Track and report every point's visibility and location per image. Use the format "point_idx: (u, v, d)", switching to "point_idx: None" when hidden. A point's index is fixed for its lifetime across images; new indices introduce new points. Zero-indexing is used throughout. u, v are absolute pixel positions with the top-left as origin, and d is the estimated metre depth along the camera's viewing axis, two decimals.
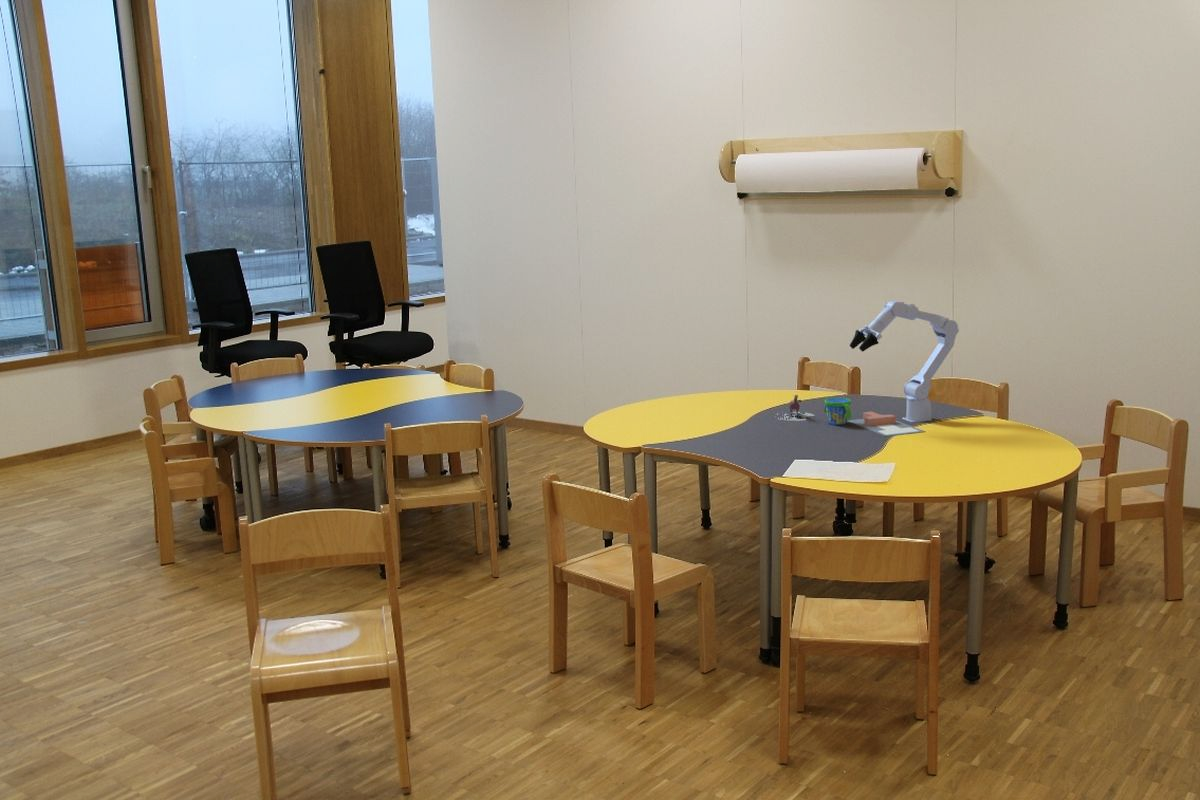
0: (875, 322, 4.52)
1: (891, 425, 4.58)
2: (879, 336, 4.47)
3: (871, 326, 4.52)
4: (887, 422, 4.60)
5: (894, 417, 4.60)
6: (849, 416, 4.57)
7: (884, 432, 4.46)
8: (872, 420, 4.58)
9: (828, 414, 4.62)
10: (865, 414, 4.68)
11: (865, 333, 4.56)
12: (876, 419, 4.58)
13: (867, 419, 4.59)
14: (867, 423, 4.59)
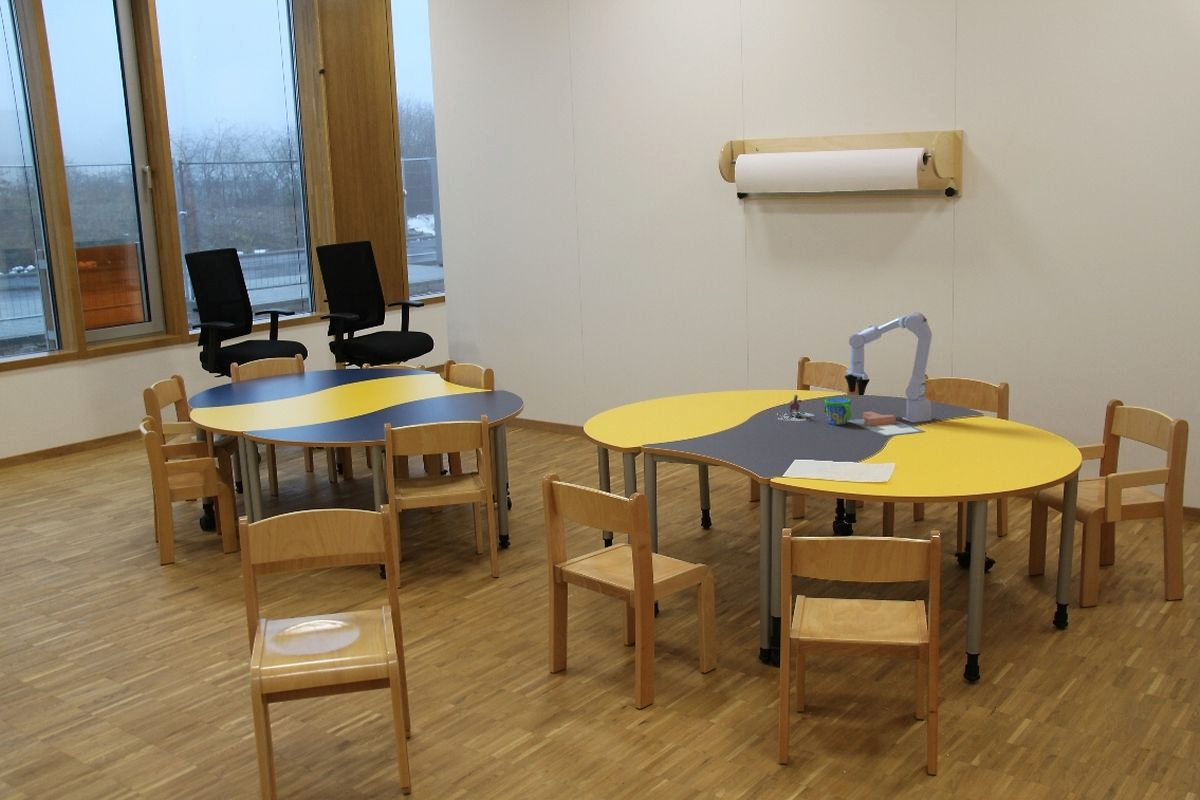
0: (853, 365, 4.73)
1: (891, 425, 4.58)
2: (865, 377, 4.69)
3: (853, 370, 4.73)
4: (887, 422, 4.60)
5: (894, 417, 4.60)
6: (849, 416, 4.57)
7: (884, 432, 4.46)
8: (872, 420, 4.58)
9: (828, 414, 4.62)
10: (865, 414, 4.68)
11: (853, 374, 4.78)
12: (876, 419, 4.58)
13: (867, 419, 4.59)
14: (867, 423, 4.59)
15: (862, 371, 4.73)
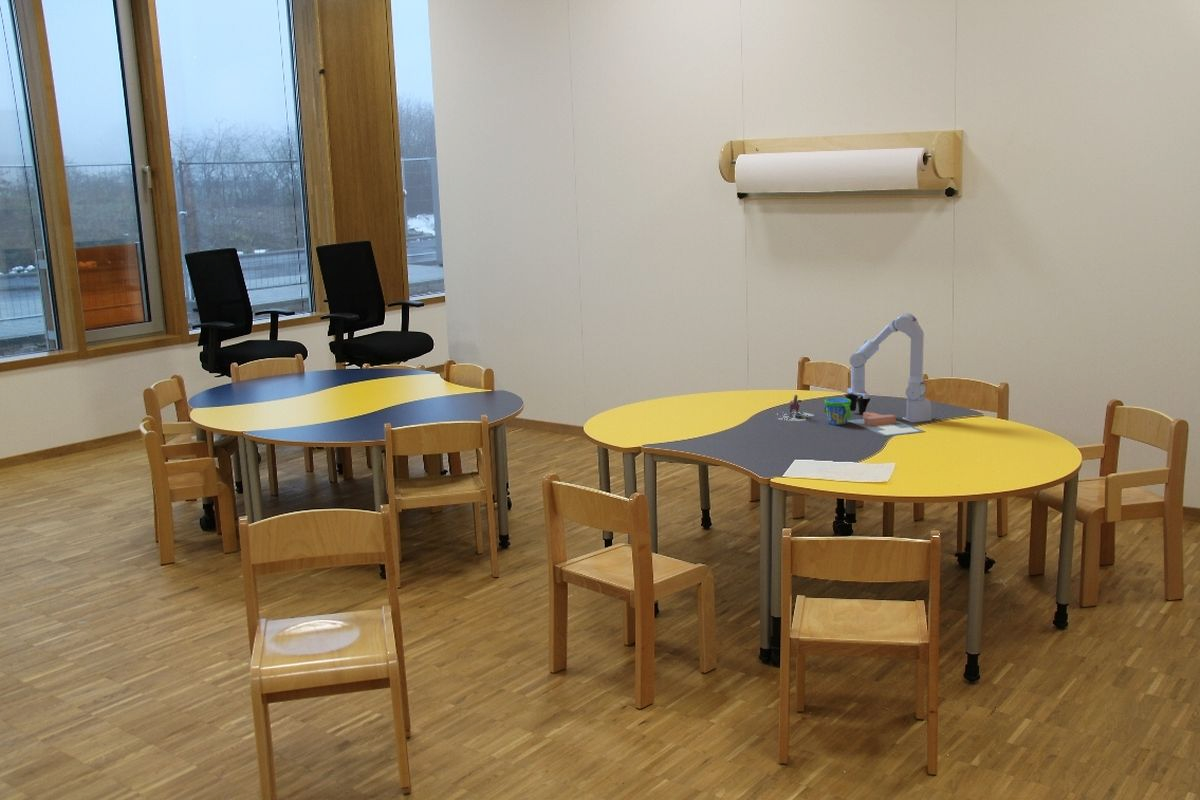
0: (854, 384, 4.74)
1: (891, 425, 4.58)
2: (866, 396, 4.70)
3: (853, 389, 4.74)
4: (887, 422, 4.60)
5: (894, 417, 4.60)
6: (849, 416, 4.57)
7: (884, 432, 4.46)
8: (872, 420, 4.58)
9: (828, 414, 4.62)
10: (865, 414, 4.68)
11: (854, 393, 4.79)
12: (876, 419, 4.58)
13: (867, 419, 4.59)
14: (867, 423, 4.59)
15: (863, 390, 4.74)
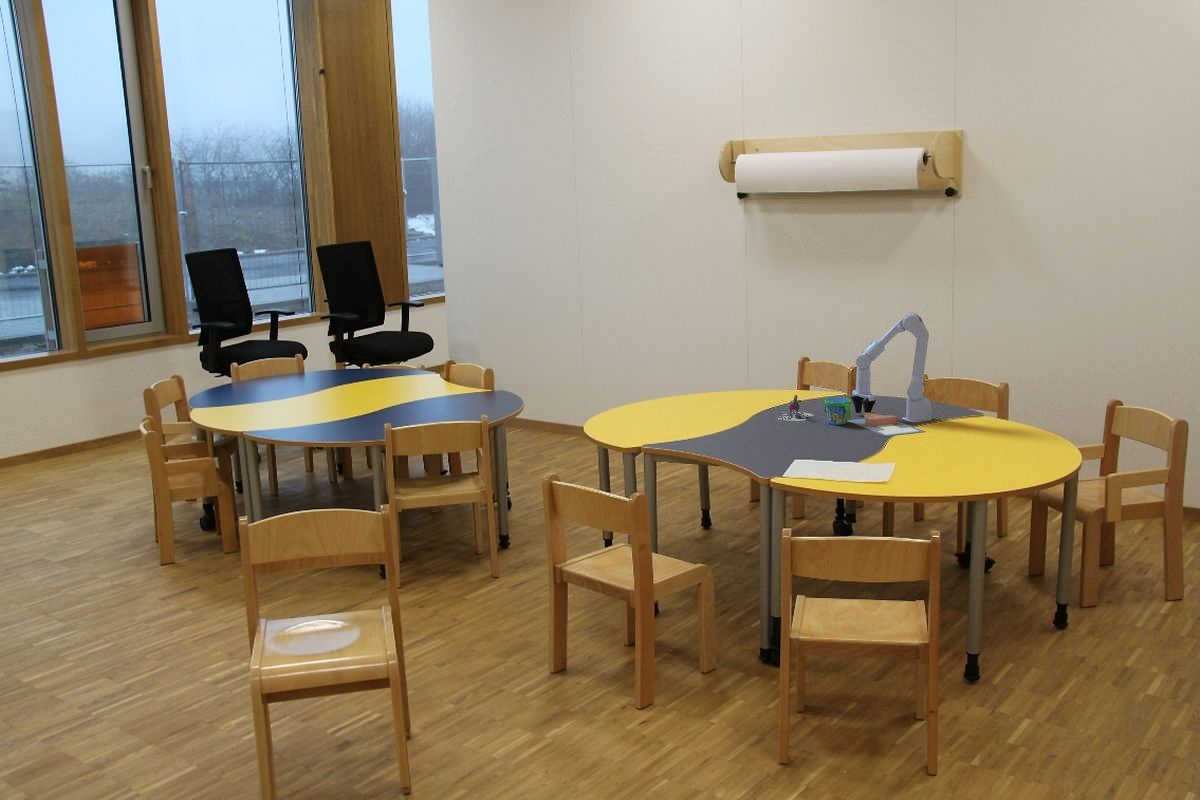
0: (859, 386, 4.70)
1: (891, 425, 4.58)
2: (872, 398, 4.66)
3: (859, 391, 4.70)
4: (888, 422, 4.59)
5: (895, 417, 4.60)
6: (849, 416, 4.57)
7: (884, 432, 4.46)
8: (873, 421, 4.57)
9: (828, 414, 4.62)
10: (866, 414, 4.67)
11: (859, 395, 4.75)
12: (877, 419, 4.57)
13: (868, 419, 4.58)
14: (868, 423, 4.58)
15: (868, 392, 4.70)
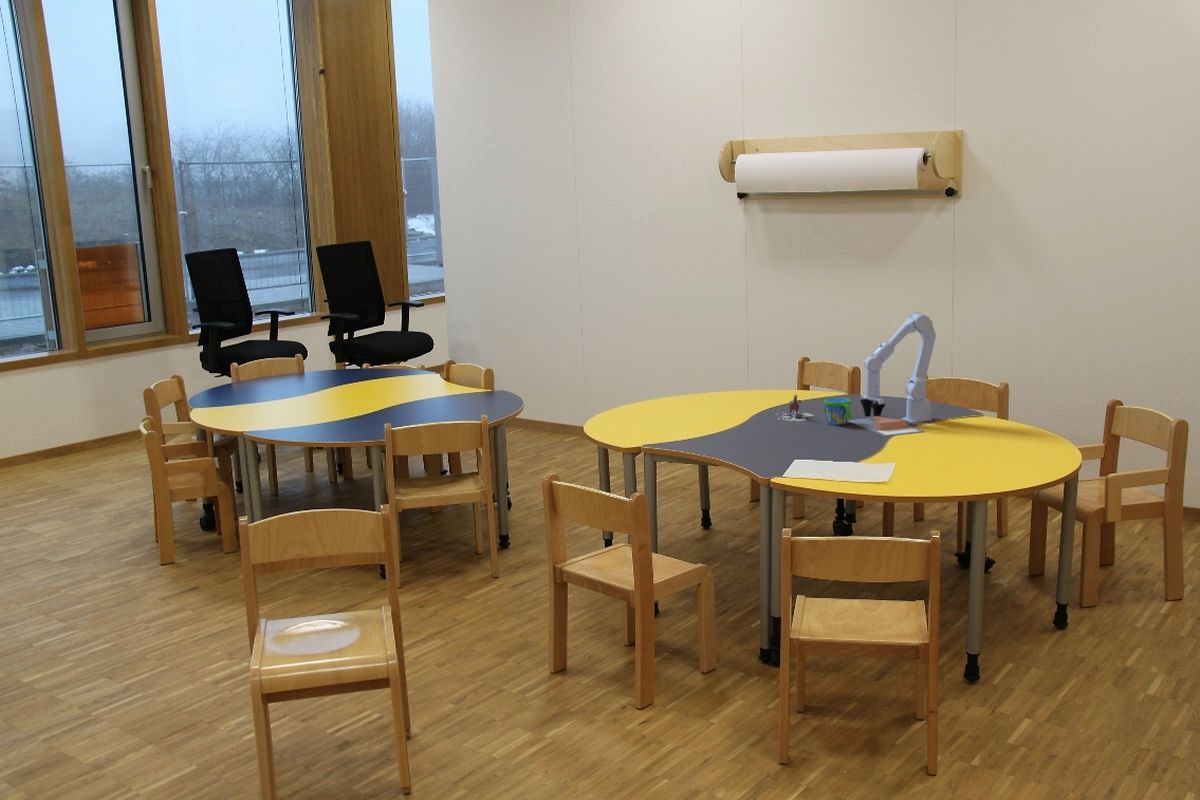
0: (868, 389, 4.62)
1: None
2: (881, 401, 4.58)
3: (868, 394, 4.63)
4: (898, 426, 4.52)
5: (905, 421, 4.53)
6: (849, 416, 4.57)
7: (884, 432, 4.46)
8: (883, 425, 4.50)
9: (828, 414, 4.62)
10: (875, 418, 4.60)
11: (868, 398, 4.67)
12: (887, 423, 4.50)
13: (878, 423, 4.51)
14: (878, 427, 4.51)
15: (878, 395, 4.63)
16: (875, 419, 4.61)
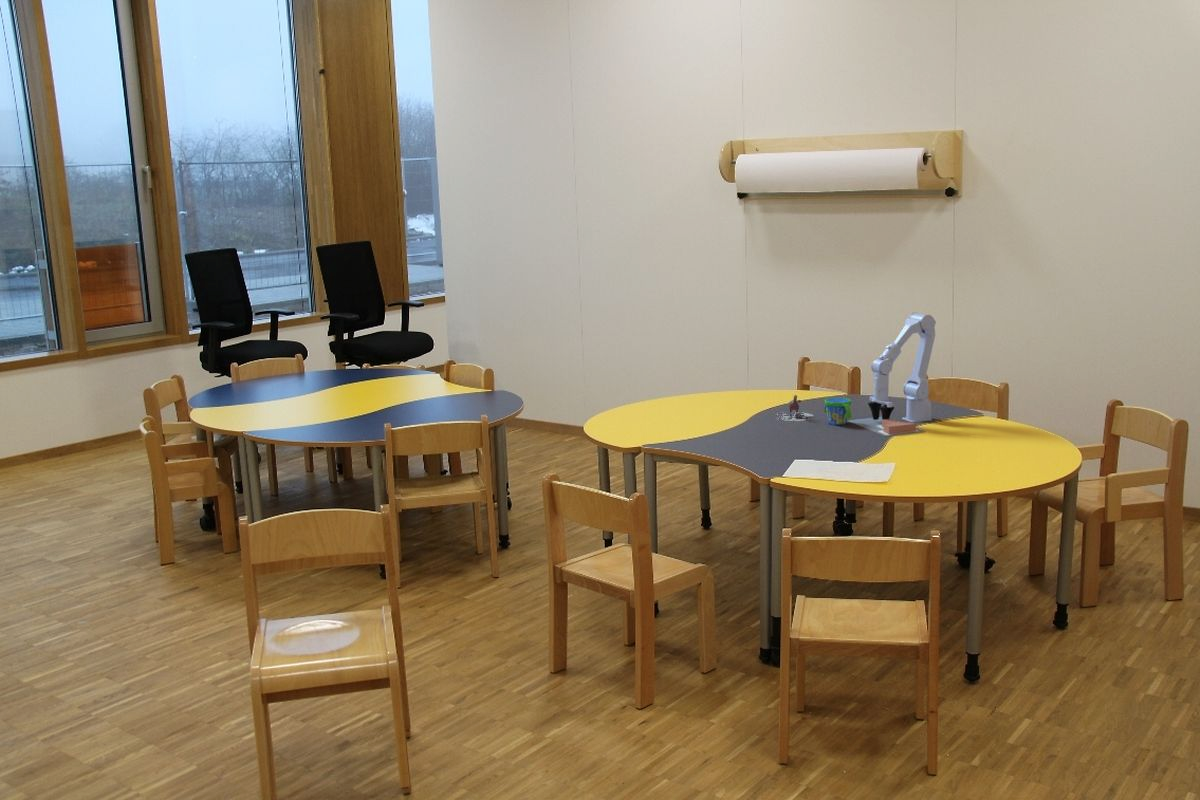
0: (877, 392, 4.56)
1: None
2: (890, 404, 4.52)
3: (877, 397, 4.57)
4: (907, 430, 4.46)
5: (914, 425, 4.46)
6: (849, 416, 4.57)
7: (884, 432, 4.46)
8: (892, 428, 4.43)
9: (828, 414, 4.62)
10: (884, 421, 4.54)
11: (877, 401, 4.61)
12: (896, 427, 4.44)
13: (886, 427, 4.45)
14: (886, 431, 4.45)
15: (886, 398, 4.57)
16: (883, 422, 4.54)
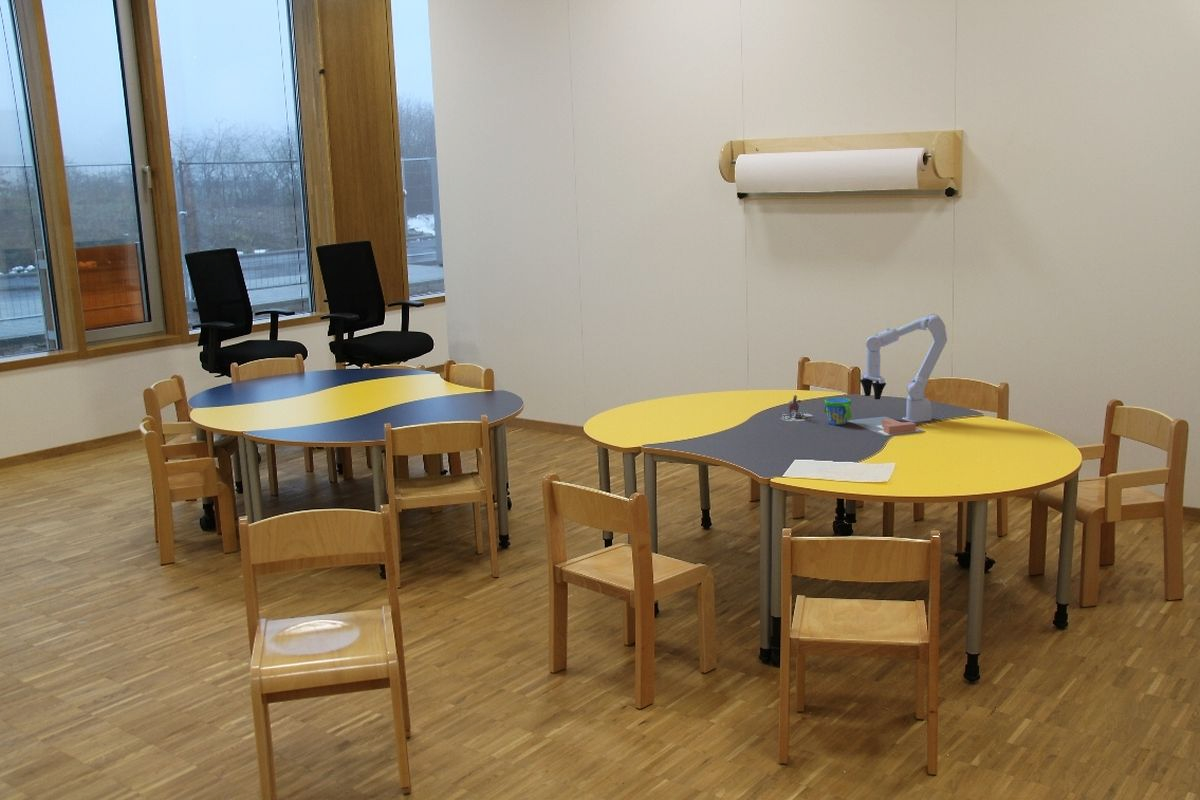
0: (869, 368, 4.64)
1: None
2: (882, 380, 4.60)
3: (869, 374, 4.64)
4: (907, 430, 4.46)
5: (914, 425, 4.46)
6: (849, 416, 4.57)
7: (884, 432, 4.46)
8: (892, 428, 4.43)
9: (828, 414, 4.62)
10: (884, 421, 4.54)
11: None
12: (896, 427, 4.44)
13: (886, 427, 4.45)
14: (886, 431, 4.45)
15: (878, 375, 4.64)
16: (883, 422, 4.54)
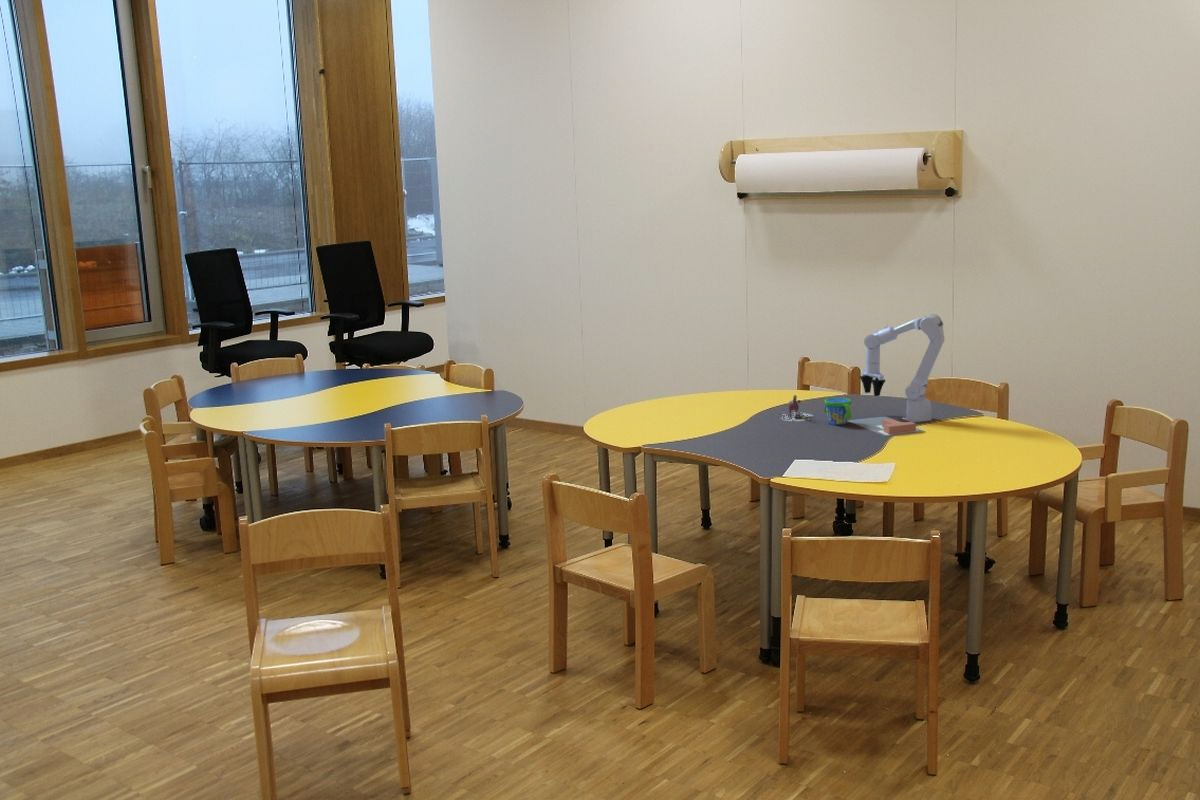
0: (869, 365, 4.70)
1: None
2: (881, 377, 4.66)
3: (868, 371, 4.71)
4: (907, 430, 4.46)
5: (914, 425, 4.46)
6: (849, 416, 4.57)
7: (884, 432, 4.46)
8: (892, 428, 4.43)
9: (828, 414, 4.62)
10: (884, 421, 4.54)
11: None
12: (896, 427, 4.44)
13: (886, 427, 4.45)
14: (886, 431, 4.45)
15: (878, 372, 4.71)
16: (883, 422, 4.54)
